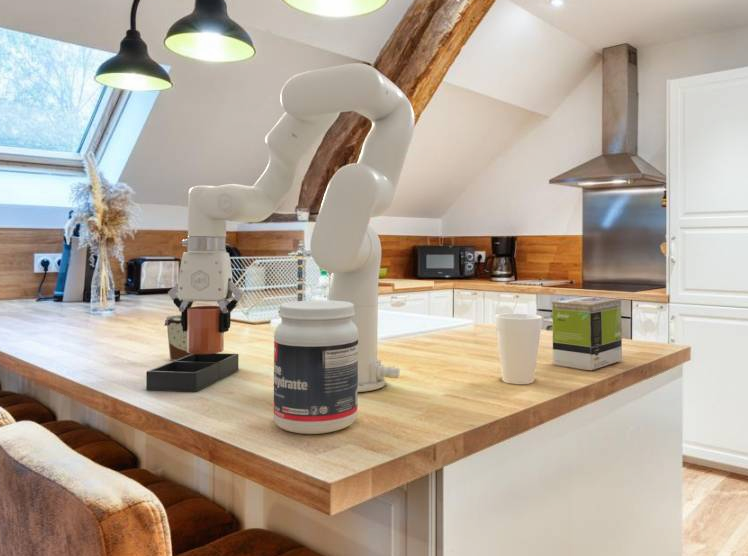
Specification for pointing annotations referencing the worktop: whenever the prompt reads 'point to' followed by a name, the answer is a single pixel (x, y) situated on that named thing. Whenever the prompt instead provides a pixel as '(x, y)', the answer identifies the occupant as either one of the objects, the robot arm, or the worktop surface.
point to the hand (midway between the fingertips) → (205, 330)
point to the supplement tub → (315, 367)
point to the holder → (191, 372)
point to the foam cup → (518, 346)
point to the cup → (204, 330)
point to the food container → (176, 338)
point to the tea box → (587, 332)
